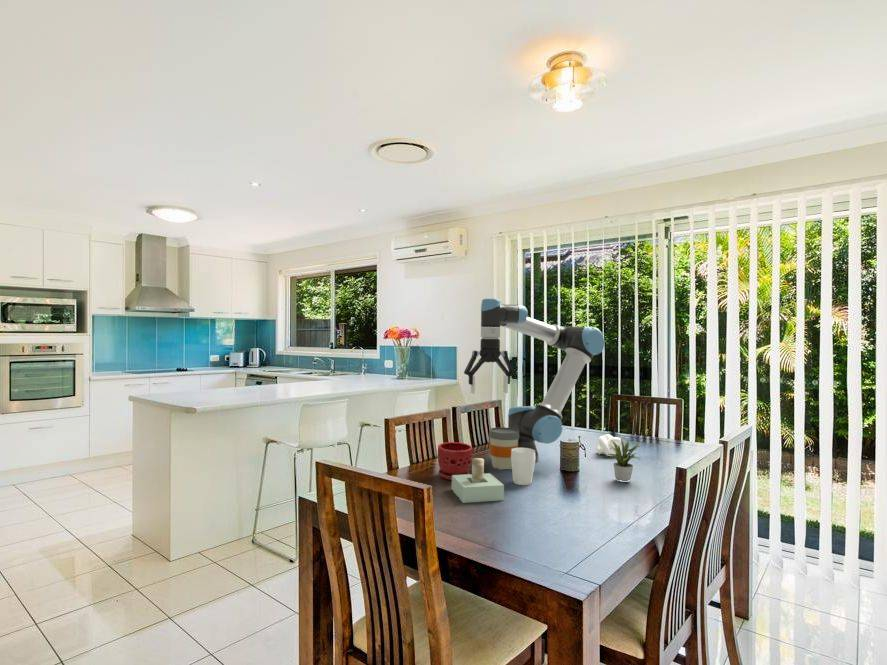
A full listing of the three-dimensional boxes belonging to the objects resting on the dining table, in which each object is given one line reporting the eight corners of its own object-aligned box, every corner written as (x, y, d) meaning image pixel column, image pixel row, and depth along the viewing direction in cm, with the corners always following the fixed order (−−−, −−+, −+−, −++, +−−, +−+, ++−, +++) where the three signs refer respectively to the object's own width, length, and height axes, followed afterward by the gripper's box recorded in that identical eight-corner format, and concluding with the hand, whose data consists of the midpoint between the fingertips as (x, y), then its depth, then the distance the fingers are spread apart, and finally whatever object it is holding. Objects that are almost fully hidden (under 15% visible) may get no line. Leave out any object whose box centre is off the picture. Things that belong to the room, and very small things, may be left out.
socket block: (489, 487, 183) (489, 473, 183) (503, 500, 170) (504, 485, 170) (451, 489, 180) (451, 475, 180) (463, 502, 166) (463, 487, 166)
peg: (480, 492, 177) (481, 457, 177) (484, 496, 173) (485, 460, 173) (469, 493, 176) (470, 458, 176) (473, 497, 172) (474, 461, 172)
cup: (516, 487, 184) (516, 453, 184) (506, 479, 193) (507, 447, 193) (539, 485, 186) (539, 452, 186) (528, 478, 195) (529, 447, 195)
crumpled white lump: (588, 453, 238) (588, 434, 238) (608, 451, 243) (608, 432, 243) (605, 459, 228) (606, 439, 228) (626, 456, 233) (626, 437, 233)
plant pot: (430, 478, 192) (431, 446, 192) (447, 470, 203) (447, 440, 203) (462, 484, 186) (463, 451, 185) (477, 475, 197) (478, 444, 197)
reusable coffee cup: (518, 463, 217) (518, 427, 217) (519, 471, 204) (520, 434, 204) (488, 461, 218) (489, 426, 218) (487, 470, 205) (488, 432, 205)
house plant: (647, 489, 185) (649, 444, 185) (607, 486, 188) (609, 441, 188) (640, 478, 199) (642, 436, 199) (603, 475, 202) (604, 433, 202)
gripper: (462, 338, 193) (461, 394, 193) (523, 338, 200) (522, 393, 200) (456, 337, 200) (455, 392, 201) (516, 338, 207) (515, 391, 207)
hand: (489, 392), depth 200 cm, fingers open, 13 cm apart
